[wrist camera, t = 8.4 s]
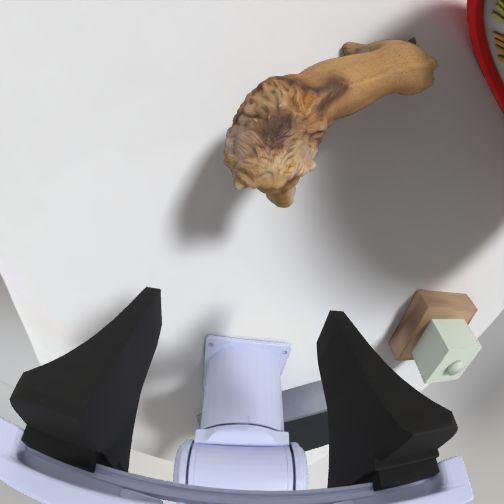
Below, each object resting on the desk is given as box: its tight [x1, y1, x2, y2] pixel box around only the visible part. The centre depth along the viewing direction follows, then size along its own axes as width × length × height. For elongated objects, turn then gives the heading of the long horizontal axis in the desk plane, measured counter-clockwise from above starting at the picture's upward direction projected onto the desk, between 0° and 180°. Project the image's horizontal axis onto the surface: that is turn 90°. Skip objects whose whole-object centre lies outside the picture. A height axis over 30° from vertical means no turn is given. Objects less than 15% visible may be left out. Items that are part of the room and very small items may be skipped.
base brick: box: [389, 290, 478, 360], centre depth 26 cm, size 7×7×2 cm
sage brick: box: [411, 319, 481, 384], centre depth 23 cm, size 4×4×4 cm
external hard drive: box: [197, 380, 329, 451], centre depth 35 cm, size 13×19×4 cm
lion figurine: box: [224, 37, 437, 208], centre depth 13 cm, size 15×5×9 cm, turn 128°
